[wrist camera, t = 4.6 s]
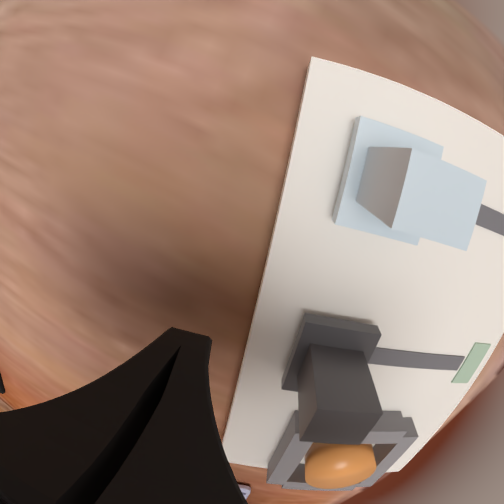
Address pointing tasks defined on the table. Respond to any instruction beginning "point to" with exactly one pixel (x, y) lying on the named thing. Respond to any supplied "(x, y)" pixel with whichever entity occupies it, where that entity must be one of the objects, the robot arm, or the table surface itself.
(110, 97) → the table surface
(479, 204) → the pale blue lever
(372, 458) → the orange button
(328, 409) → the dark gray switch
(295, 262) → the control panel
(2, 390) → the smartphone
